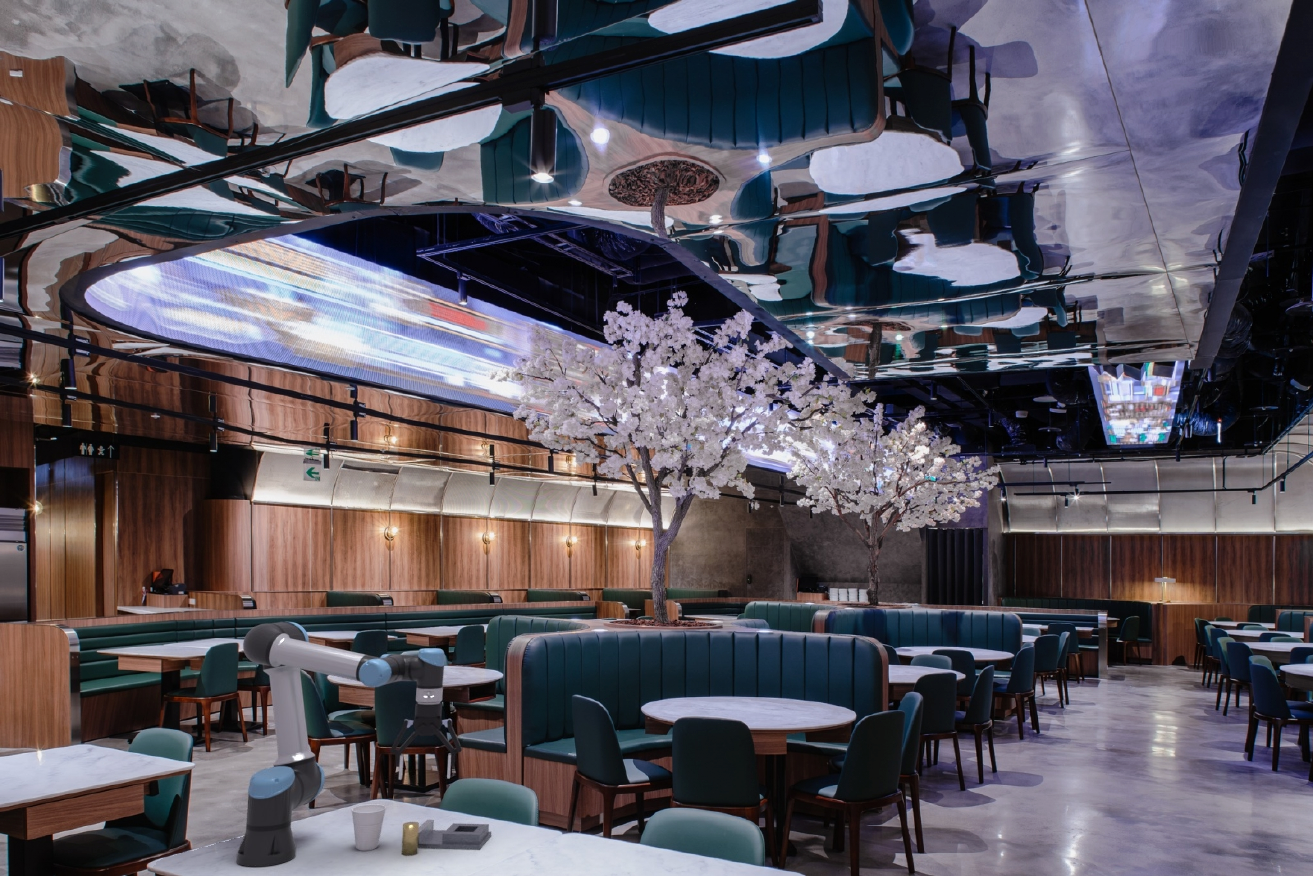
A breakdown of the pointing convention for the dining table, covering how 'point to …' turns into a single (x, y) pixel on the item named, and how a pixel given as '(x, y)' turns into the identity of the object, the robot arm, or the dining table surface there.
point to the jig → (453, 836)
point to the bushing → (410, 838)
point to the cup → (367, 825)
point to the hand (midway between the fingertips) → (424, 778)
